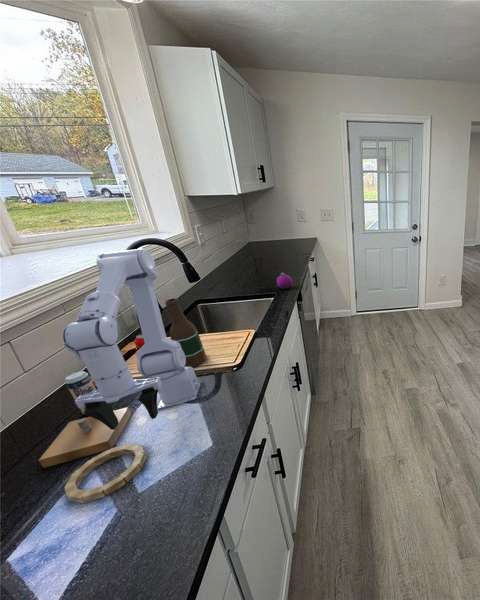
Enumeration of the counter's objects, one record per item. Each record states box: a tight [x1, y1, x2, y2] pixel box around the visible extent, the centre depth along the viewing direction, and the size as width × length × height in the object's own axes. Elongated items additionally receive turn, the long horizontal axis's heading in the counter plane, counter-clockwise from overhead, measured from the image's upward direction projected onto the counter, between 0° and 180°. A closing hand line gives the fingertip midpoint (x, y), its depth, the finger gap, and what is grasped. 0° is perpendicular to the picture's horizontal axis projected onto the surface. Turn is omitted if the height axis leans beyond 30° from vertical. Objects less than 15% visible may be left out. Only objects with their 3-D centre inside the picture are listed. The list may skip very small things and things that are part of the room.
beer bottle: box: [165, 298, 207, 368], centre depth 106 cm, size 8×8×24 cm
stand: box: [38, 406, 132, 469], centre depth 79 cm, size 13×13×6 cm
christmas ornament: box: [276, 271, 293, 290], centre depth 174 cm, size 8×8×10 cm
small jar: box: [64, 370, 98, 415], centre depth 88 cm, size 5×5×12 cm
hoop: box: [64, 443, 147, 504], centre depth 69 cm, size 13×13×2 cm
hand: (135, 421), depth 71 cm, fingers open, 7 cm apart
